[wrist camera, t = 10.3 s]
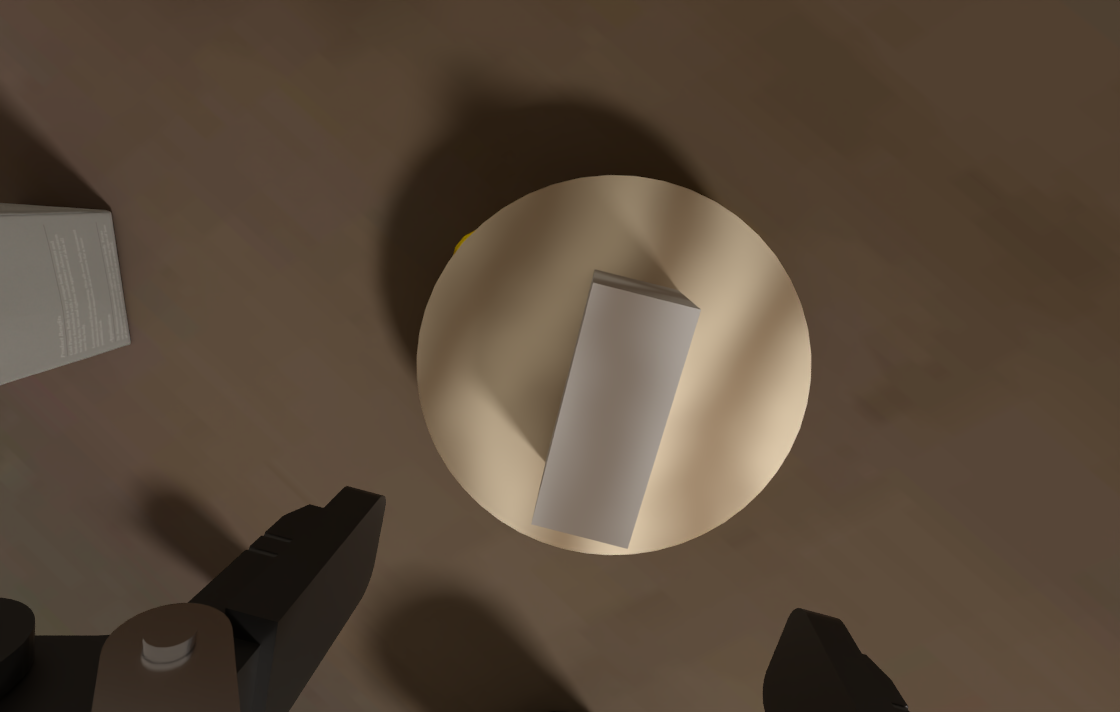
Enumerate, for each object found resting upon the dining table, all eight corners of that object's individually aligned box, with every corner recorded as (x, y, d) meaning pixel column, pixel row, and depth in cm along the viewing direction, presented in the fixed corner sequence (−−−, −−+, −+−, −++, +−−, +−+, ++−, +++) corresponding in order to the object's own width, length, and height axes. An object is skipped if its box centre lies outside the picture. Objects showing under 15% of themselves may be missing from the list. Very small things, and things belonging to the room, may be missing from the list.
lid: (862, 232, 26) (956, 235, 19) (734, 581, 30) (772, 685, 24) (462, 133, 26) (413, 101, 19) (394, 494, 31) (335, 572, 24)
